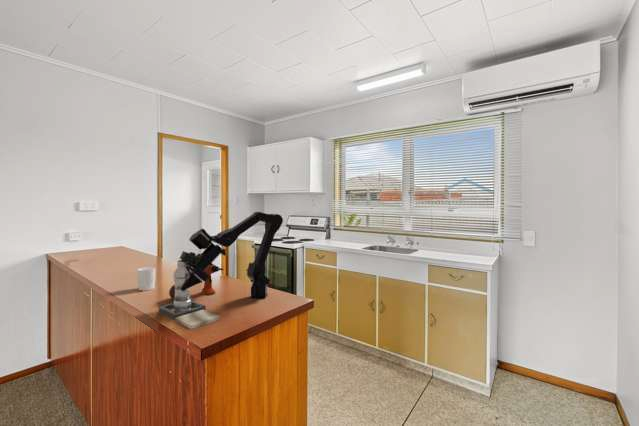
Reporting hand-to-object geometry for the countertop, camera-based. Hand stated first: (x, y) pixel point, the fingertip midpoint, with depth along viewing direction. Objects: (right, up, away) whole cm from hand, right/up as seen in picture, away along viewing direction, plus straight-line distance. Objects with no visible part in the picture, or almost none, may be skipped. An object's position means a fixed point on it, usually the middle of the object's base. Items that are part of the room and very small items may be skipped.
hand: (178, 287), depth 116 cm
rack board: (+10, -10, -7) cm, 16 cm away
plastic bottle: (+1, -10, +1) cm, 10 cm away
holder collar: (+1, -10, +1) cm, 10 cm away
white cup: (-30, -9, +31) cm, 44 cm away
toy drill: (+5, -9, +23) cm, 25 cm away
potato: (-6, -9, +15) cm, 19 cm away
